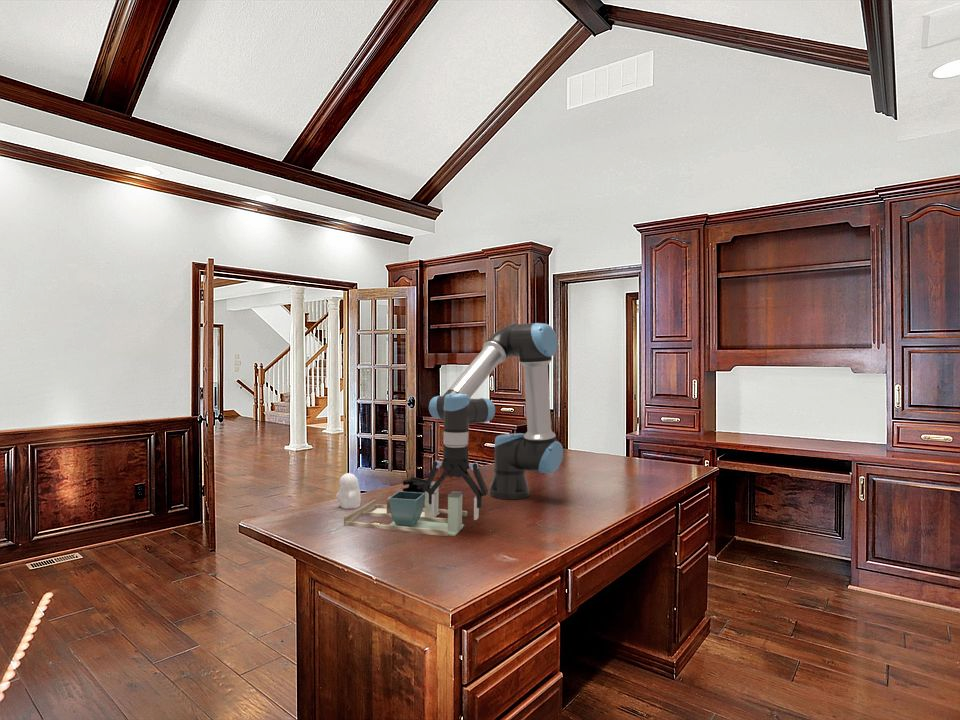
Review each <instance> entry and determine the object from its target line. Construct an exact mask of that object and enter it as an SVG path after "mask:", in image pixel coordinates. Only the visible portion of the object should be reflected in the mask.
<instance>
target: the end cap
mask: <svg viewBox="0 0 960 720" xmlns="http://www.w3.org/2000/svg"><path fill="white" fill-rule="evenodd" d="M426 481H427V479H423V478H421V477H420V478H419V477H415V476H410V478H409V479H404V480H402V486H406V485H408V487H405V488H404V487H403V488H402V491H403V492H416V493H425V492H424V491H423V487H424V485H425V483H426ZM424 499H425V496H424Z"/></svg>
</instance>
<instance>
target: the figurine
mask: <svg viewBox="0 0 960 720" xmlns="http://www.w3.org/2000/svg"><path fill="white" fill-rule="evenodd" d="M338 484H339V490H338V491H337V493H336V500H337V502H338V504H339V505H340V507H341V508H342V509H346V510H350V509H352V510H353V509H359V508H360V507H361V502H362V501H361V499H362V497H361V489H360V484H359V480H358V478H357V476H356V475H354V474H353V473H351V472H346V473H344V474H343V475H341V476H340V477H339V483H338Z"/></svg>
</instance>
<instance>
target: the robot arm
mask: <svg viewBox="0 0 960 720" xmlns="http://www.w3.org/2000/svg"><path fill="white" fill-rule="evenodd" d="M558 346H559V345H558V336H557V334H556V332H555V330H554V329H553V327H552V326H551V325H549V324H548V323H543V322H542V323H541V322H535V323H533V322H531V323H518V324H517V323H514V324H513V323H511V324H508V325H506V326H504V327H502V328H500V329H499V330H497V331H496V332H494V333H493V334H492V335H491V336H489V338H488V339H487V340H486V341H485V342H484V344H482V350H481V351H480V352H479V353H478V355H476V357H475V358H474V359H473V361H472V362H471V363H470V364H469V365H468V366H466V368H465V370H464V371H463V372H462V373H461V374H460V376H458V378H457V379H456V380H455V381H454V382H453V384H451V386H450V387H449V388H448V389H447V390H446V391H445V392H444V394H443V395H437V396H434V397H432V398H431V399H430V401H429V405H428V411H429V414H430V415H431V417H432V418H435V419H438V420H441V421H443V439H442V440H443V443H442V444H443V445H444V446H443V448H442V449H443V452H442V454H443V455H442V461H440V460H438V459H436V460H434V461H433V462H432V466H431V467H432V468H431V470H430V472H429V475H428V476H427V479H426V480H427V481H426V483H425V485H424V487H423V491H424V492H425V491H426V492H428V494H429V504H432V516H435V515H436V514H437V493H434V492H435V490H436V489H437V488H438V486H439V487H440V486H441V484H442V483H443V482H444V481H445V479H446V478H447V477H450V478H454V477H455V478H463V480H464V481H465V482H466V483H467V485H468V486H469V488H470V489H471V491H472V492H473V493H474V495H475V496H474V497H473V521H477V520H478V519H479V515H480V514H479V512H480V511H479V510H480V509H481V508H482V506H483V497H485V496H487V495H488V494H489V496H490V497H492V498H496V499H501V500H520V499H521V500H522V499H525V498H528V497H529V496H530V487H529V484H528V481H527V477H526V471H529V472H531V471H532V472H536V473H540V474H553V473H554V472H556V471H557V470H558V469H559V467H560V465H561V464H562V461H563V457H564V447H563V445H562V443H561V442H559V441H558V440H557V437H556V436H557V435H556V433H555V432H554V431H552V422H551V421H552V420H551V418H552V417H551V404H550V384H549V383H550V381H549V364H550V363H551V362H552V357H553V356H555V354H556V353H557V351H558V350H557V349H558ZM513 356H515V357H518V362H519V364H521V366H523V374H524V376H523V377H524V378H523V379H524V391H525V392H524V394H525V395H524V396H525V407H526V408H525V410H526V412H525V413H526V425H527V426H526V428H527V431H526V432H525V433H521V432H519V433H518V432H517V433H506V434H499V435H496V437H495V439H494V446H493V447H494V461H493V463H494V464H493V465H494V467H493V468H494V470H493V471H494V473H493V476H492V480H491V483H490V486H489V490H488V487H487V485H486V482H485V480H484V478H483V476H482V474H481V471H480V464H479V462H474V463H470V461H469V446H468V445H469V428H470V427H469V426H470V425H471V424H480V423H481V424H483V423H487V422H489V421H492V420H493V418H494V417H495V414H496V406H495V404H494V402H493V401H492V400H490V399H489V398H482V397H481V398H472V397H473V395H474V394H475V393H476V392H477V390H478V389H479V388H480V387H481V386H482V384H484V382H485V381H486V379H487V378H488V377H489V375H490V374H491V373H492V372H493V371H494V370H495V368H496V367H497V366H498V365H499V364H502V363H503V362H505V361H506V359H508V358H509V357H513ZM441 467H442V469H443V470H444V471H443V472H442V473H441V475H440V476H439V477H438V479H437V480H436V481H433V480H434V479H435V477H436V474H437V472H438V470H439V469H440V468H441ZM469 468H470V470H471V471H473V475H474V477H475V479H476V482H477V483H476V482H475V481H474V479H473V478H472V477H471V474H470V473H469V472H468V470H469ZM432 481H433V482H435V484H434V485H433V486H432V487H431V488H430V485H431V483H432Z"/></svg>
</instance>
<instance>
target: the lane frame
mask: <svg viewBox="0 0 960 720" xmlns="http://www.w3.org/2000/svg"><path fill="white" fill-rule="evenodd" d="M377 501H378V500H377V499H373V500H371V501H370V502H368V503H366V504H364V505H363V506H360V507H358V508H356V509H355V510H353V511H352V512H350V513H348V514H347V515H345V516H343V526H347V527H348V526H349V527H359V528H368V529H369V528H370V529H381V530H393V531H401V532H404V533H407V534H409V533H410V534H417V535H430V536H438V537H440V536H441V537H448V536H449V535H448V530H438V529H427V528H416V527H405V526H394V525H389V524H382V523H370V522H369V523H368V522H359V521H358V522H357V521H356V520H358V519H360V518H361V517H363V516H364V517H365V516H366V517H377V518H388V519H393V518H392V515H391V514H387V513H375V512H372V511H374V510H375V509H377V508H383V509H387V504H384V503H383V504H379V503H377ZM422 512H425V507H423V510H422ZM438 513H440V514H447V515H448V509H445V508H443V509H442V508H438ZM462 517H468V511H467V510H462ZM418 521H429V522H441V523H448V518H446V517H445V518H444V517H435V518H434V517H423V516H420V518H419V520H418Z"/></svg>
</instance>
